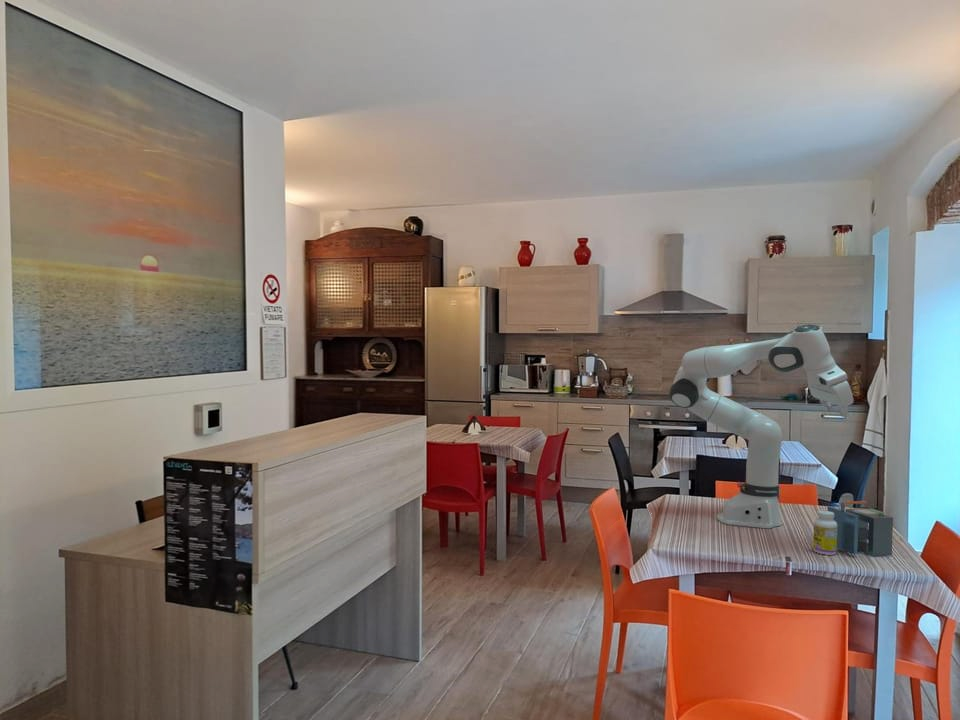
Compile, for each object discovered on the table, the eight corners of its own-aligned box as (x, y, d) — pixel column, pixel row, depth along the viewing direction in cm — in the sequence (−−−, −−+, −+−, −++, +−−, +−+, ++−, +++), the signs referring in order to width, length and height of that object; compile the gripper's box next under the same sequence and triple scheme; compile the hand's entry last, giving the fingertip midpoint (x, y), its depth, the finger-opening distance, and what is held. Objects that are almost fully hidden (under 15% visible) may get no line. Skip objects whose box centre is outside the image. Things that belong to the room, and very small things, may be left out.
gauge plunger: (853, 554, 209) (855, 506, 209) (826, 543, 221) (827, 497, 221) (882, 552, 211) (883, 505, 211) (853, 541, 223) (854, 496, 223)
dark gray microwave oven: (872, 556, 211) (873, 515, 210) (844, 545, 222) (845, 506, 222) (891, 555, 212) (893, 515, 212) (862, 544, 224) (863, 505, 223)
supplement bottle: (809, 549, 218) (810, 509, 217) (831, 549, 217) (832, 510, 217) (818, 555, 211) (819, 514, 211) (840, 556, 210) (841, 515, 210)
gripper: (797, 373, 223) (811, 411, 225) (829, 382, 203) (844, 423, 204) (815, 365, 223) (829, 403, 225) (849, 374, 203) (864, 415, 204)
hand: (837, 413), depth 214 cm, fingers open, 8 cm apart
